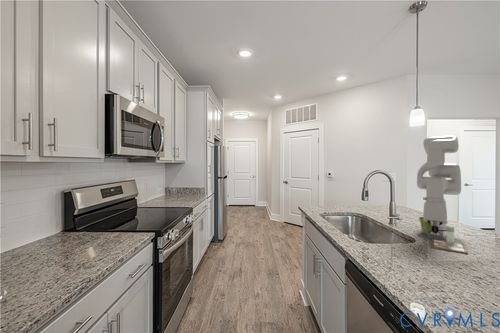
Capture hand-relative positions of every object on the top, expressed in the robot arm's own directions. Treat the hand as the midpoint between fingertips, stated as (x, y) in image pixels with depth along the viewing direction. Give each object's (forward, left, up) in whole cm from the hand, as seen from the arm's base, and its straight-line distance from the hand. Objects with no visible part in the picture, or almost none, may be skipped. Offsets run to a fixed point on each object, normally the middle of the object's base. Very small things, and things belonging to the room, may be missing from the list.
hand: (434, 232), depth 127 cm
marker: (+9, +6, -2) cm, 11 cm away
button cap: (0, 0, -2) cm, 3 cm away
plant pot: (-10, -3, -3) cm, 11 cm away
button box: (0, 0, -3) cm, 3 cm away
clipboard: (+12, +5, -3) cm, 13 cm away
